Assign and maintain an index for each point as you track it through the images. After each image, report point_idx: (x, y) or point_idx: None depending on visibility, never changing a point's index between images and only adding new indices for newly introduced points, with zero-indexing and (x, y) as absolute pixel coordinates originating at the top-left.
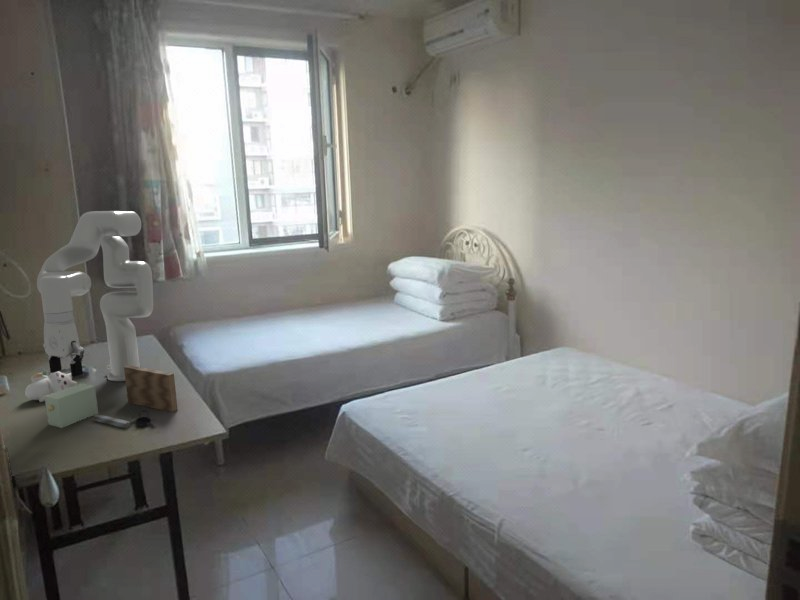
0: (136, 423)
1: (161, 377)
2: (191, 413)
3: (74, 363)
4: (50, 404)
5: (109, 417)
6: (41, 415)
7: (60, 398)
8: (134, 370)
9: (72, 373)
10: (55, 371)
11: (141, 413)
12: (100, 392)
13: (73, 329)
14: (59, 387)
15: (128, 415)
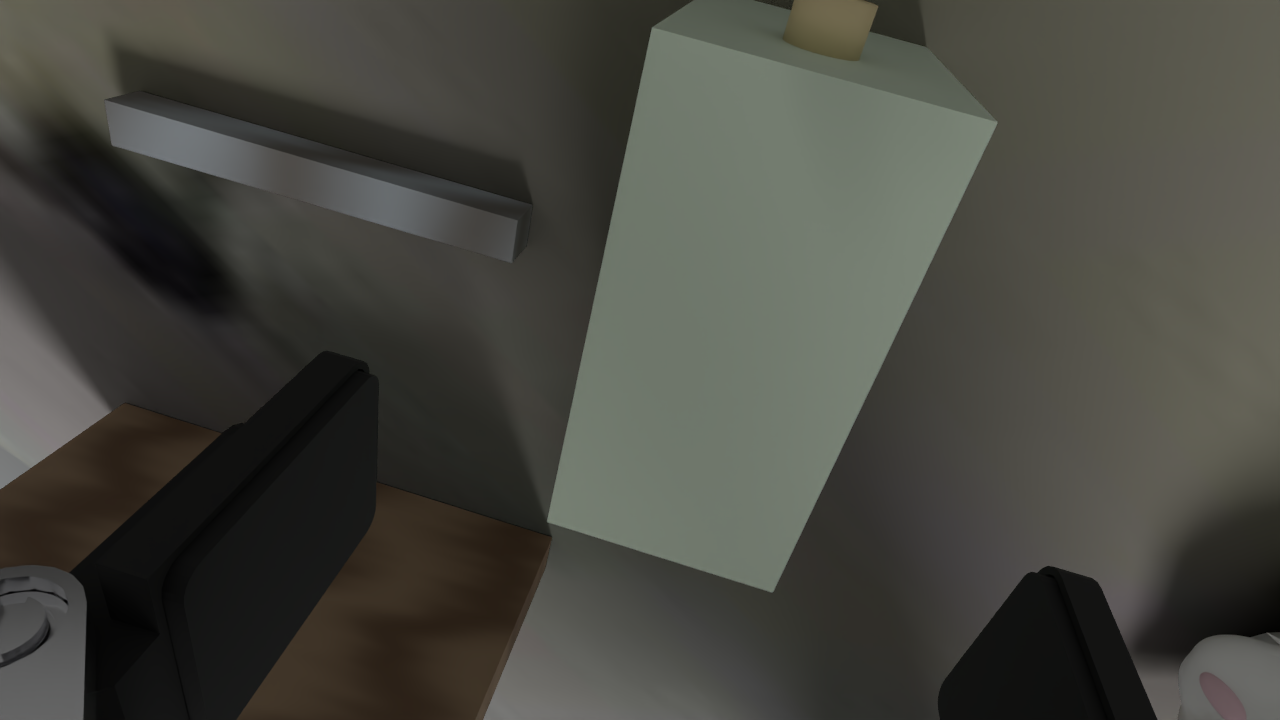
0: (163, 199)
1: None
2: (8, 393)
3: (33, 590)
4: (854, 63)
5: (346, 205)
6: (1178, 254)
7: (642, 83)
8: None
9: (289, 391)
10: (1001, 618)
11: (295, 371)
12: (908, 691)
13: None
14: (1253, 695)
15: (351, 330)
